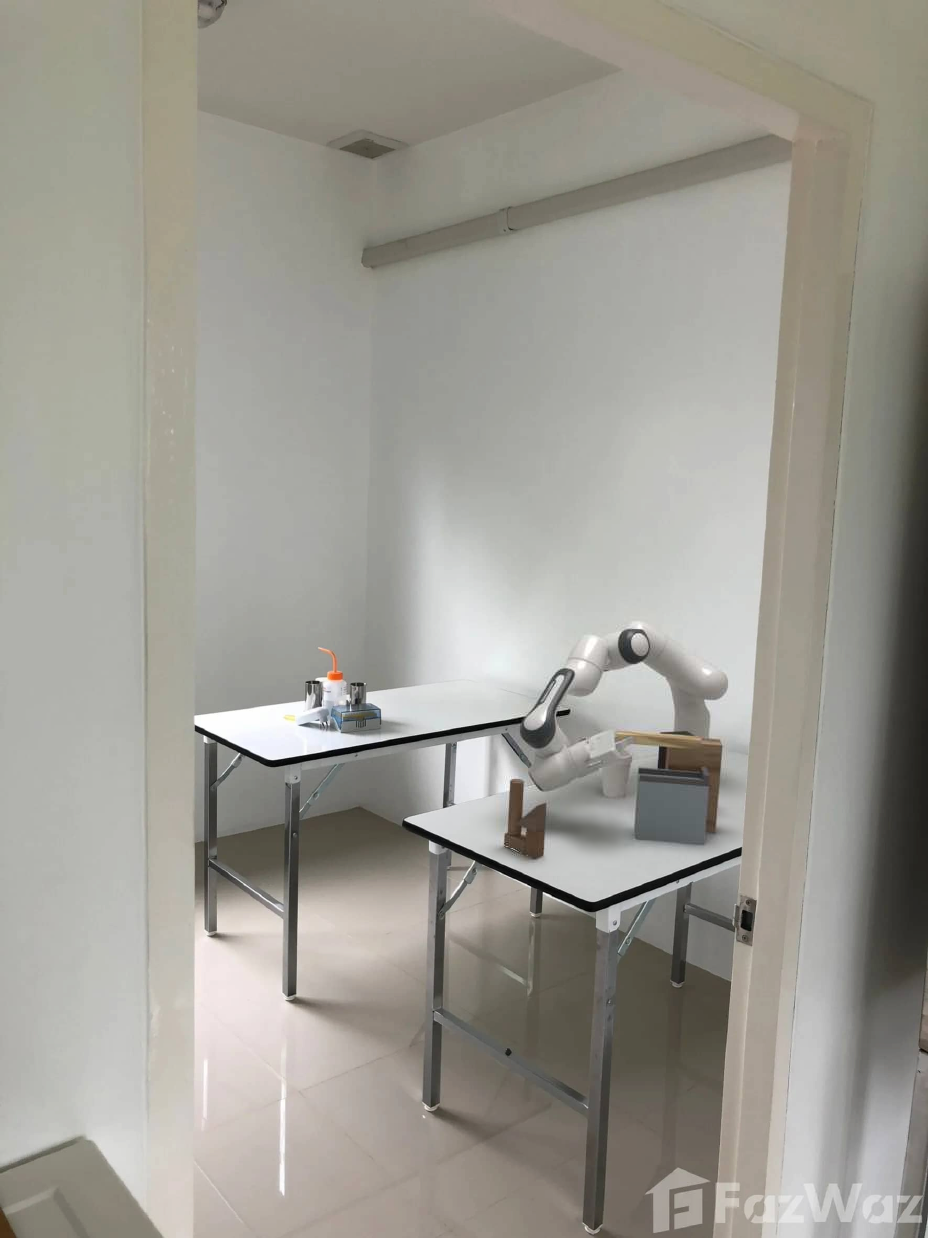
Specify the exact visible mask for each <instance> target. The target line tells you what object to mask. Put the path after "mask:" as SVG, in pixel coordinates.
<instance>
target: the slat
mask: <svg viewBox="0 0 928 1238" xmlns="http://www.w3.org/2000/svg"><path fill="white" fill-rule="evenodd" d="M629 736H632V737H633V739H634V743H632V744H631V745H637V746H638V745H640V746H652V747H653V746H654V747H655V746H656V747H659V746H663V747H676V748H689V749H701V738H700V737H698V736H684V735H671V734H660V733H655V732H643V731H631V730H618V729H617V730H616V743H617V742H619V741H622V740H624V739H626V737H629Z"/></svg>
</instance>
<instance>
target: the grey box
mask: <svg viewBox="0 0 928 1238" xmlns="http://www.w3.org/2000/svg"><path fill="white" fill-rule="evenodd" d="M637 771H638V772H637V782H636V786H637V787H636V796H635V811H634V813H635V814H634V824H633V825H634V828H633V829H634V836H635V839H636V840H642V841H643V840H644V841H657V842H666V843H678V844H679V843H681V844H690V845H692V844H693V845H703V846H704V845H705V839H706V838H705V837H706V833H705V829H706V817H707V804H708V792H709V778H710V775H709V773H708V770H707V767H701V769H700V772H694V771H681V770H668V769H657V768H656V767H655V768H654V767H653V768H652V767H639V766H638V770H637Z"/></svg>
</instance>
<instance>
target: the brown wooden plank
mask: <svg viewBox="0 0 928 1238" xmlns="http://www.w3.org/2000/svg"><path fill="white" fill-rule="evenodd" d="M722 755H723V743H722V741H721V739H719V738H710V739H708V738H701V749H689V748H676V747H667V759H666V769H668V770H681V771H694V772H700V769H701V767H707V770H708V773H709V775H710V778H709V792H708V804H707V817H706V829H705V834H716V829H717V819H718V817H717V816H718V807H719V794H720V782H721V770H722V759H723V757H722Z"/></svg>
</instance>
